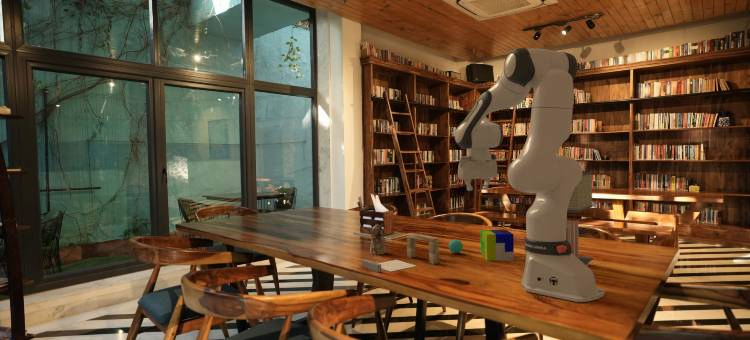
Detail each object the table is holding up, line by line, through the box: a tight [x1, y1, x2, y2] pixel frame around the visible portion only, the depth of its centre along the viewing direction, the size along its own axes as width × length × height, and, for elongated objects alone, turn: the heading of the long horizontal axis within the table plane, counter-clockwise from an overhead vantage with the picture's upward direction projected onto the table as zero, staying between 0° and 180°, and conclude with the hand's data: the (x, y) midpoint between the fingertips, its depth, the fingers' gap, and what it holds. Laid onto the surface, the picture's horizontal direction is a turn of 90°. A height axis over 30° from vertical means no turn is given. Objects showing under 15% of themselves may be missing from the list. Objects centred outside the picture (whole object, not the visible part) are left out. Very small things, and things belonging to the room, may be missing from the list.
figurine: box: [369, 223, 388, 256], centre depth 174 cm, size 7×7×12 cm
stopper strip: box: [361, 258, 382, 273], centre depth 148 cm, size 10×2×2 cm, turn 35°
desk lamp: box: [535, 172, 594, 267], centre depth 147 cm, size 18×14×33 cm
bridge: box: [406, 232, 440, 265], centre depth 161 cm, size 3×15×9 cm, turn 35°
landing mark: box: [377, 259, 417, 273], centre depth 153 cm, size 12×12×1 cm
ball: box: [448, 239, 463, 254], centre depth 171 cm, size 6×6×6 cm
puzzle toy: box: [480, 229, 515, 262], centre depth 163 cm, size 10×10×10 cm
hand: (477, 189), depth 172 cm, fingers open, 8 cm apart
